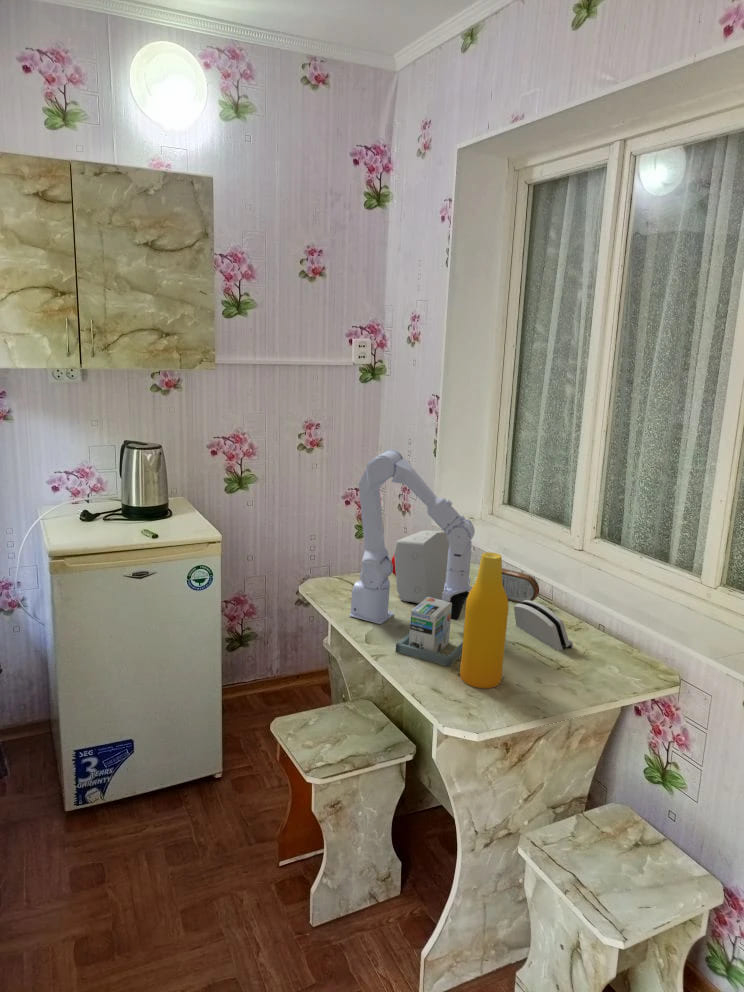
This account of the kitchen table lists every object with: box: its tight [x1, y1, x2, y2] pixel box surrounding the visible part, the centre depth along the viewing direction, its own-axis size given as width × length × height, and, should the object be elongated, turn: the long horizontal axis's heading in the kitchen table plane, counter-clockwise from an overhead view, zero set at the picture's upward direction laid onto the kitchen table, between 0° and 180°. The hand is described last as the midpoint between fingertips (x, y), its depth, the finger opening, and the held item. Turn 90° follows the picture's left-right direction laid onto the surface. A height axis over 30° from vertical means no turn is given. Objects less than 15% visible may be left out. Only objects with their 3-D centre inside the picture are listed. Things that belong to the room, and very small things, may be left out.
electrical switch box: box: [391, 529, 449, 604], centre depth 215 cm, size 14×15×20 cm
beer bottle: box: [459, 551, 509, 689], centre depth 165 cm, size 9×9×29 cm
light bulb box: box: [409, 597, 452, 654], centre depth 182 cm, size 11×7×11 cm, turn 153°
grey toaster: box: [513, 600, 574, 652], centre depth 191 cm, size 17×5×10 cm, turn 28°
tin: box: [502, 567, 540, 604], centre depth 216 cm, size 15×3×8 cm, turn 58°
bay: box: [395, 632, 463, 667], centre depth 183 cm, size 14×15×2 cm
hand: (453, 618), depth 193 cm, fingers closed
